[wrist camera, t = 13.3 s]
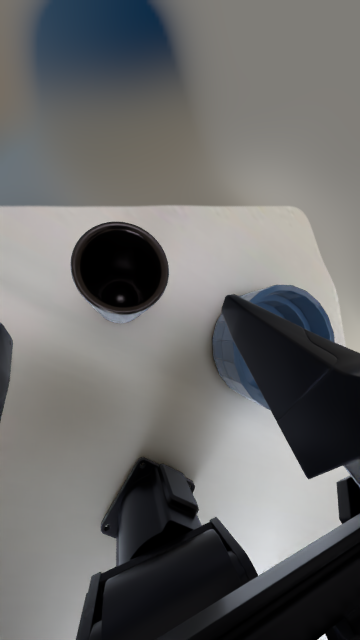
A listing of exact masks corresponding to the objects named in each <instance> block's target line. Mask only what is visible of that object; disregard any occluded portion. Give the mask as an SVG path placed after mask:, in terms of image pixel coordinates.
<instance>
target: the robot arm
mask: <svg viewBox="0 0 360 640" xmlns="http://www.w3.org/2000/svg"><path fill="white" fill-rule="evenodd" d="M222 314H223V317H224V319H225V322H226V324H227V326H228V329H229V331H230V334H231V336H232V339H233V341H234V343H235V344H236V346H237V348H238V350H239V352H240V354H241V356H242V357H243V359H244V361H245V363H246V365H247V367H248V369H249V371H250V372H251V374H252V376H253V378H254V380H255V382H256V384H257V385H258V387H259V389H260V391H261V393H262V395H263V397H264V399H265V400H266V402H267V404H268V406H269V408H270V410H271V412H272V414H273V415H274V417H275V419H276V421H277V423H278V425H279V427H280V429H281V431H282V432H283V434H284V436H285V438H286V440H287V442H288V444H289V445H290V447H291V449H292V451H293V453H294V455H295V457H296V459H297V460H298V462H299V464H300V466H301V468H302V470H303V472H304V473H305V475H306V477H307V478H308V479H311V478H313V477H316V476H318V475H321V474H323V473H325V472H328V471H330V470H333V469H335V468H338V467H340V466H342V465H343V466H344V467H345V468H346V470H347V471H348V472H349V474H350V476H348V477H346V478H344V479H342V480H340V481H338V482H337V494H338V508H339V519H340V521H341V522H342V525H340V526H339V527H337V528H335V529H334V530H332V531H331V532H329V533H327V534H326V535H324V536H322V537H321V538H319V539H318V540H316V541H314V542H313V543H311V544H309V545H308V546H306V547H305V548H303V549H301V550H300V551H298V552H297V553H295V554H293V555H292V556H290V557H288V558H287V559H285V560H284V561H282V562H280V563H279V564H277V565H275V566H274V567H272V568H271V569H269V570H267V571H266V572H264V573H262V574H261V575H259V576H258V574H257V572H256V570H255V568H254V566H253V564H252V563H251V561H250V559H249V557H248V556H247V554H246V553H245V551H244V550H243V549H242V547H241V546H240V545H239V544H238V543H237V541H236V540H235V539H234V538H233V536H232V535H231V534H230V533H229V532H228V530H227V529H226V528H225V527H224V525H223V524H222V523H221V522H220V521H219V519H218V518H217V517H215V518H213V519H211V520H210V522H209V523H207V524H204V525H201V523H200V521H199V518H198V516H197V512H198V510H199V509H198V505H197V502H196V500H195V498H194V496H193V494H192V493H193V491H194V489H195V485H194V483H193V481H191V480H190V479H188V478H185V477H184V474H183V473H181V472H179V471H177V470H175V469H173V468H171V467H169V466H167V465H165V464H160V465H159V464H157V463H155V462H153V461H151V460H149V459H147V458H144V457H142V458H140V459H138V461H137V462H136V464H135V466H134V468H133V469H132V471H131V473H130V475H129V476H128V478H127V480H126V481H125V483H124V485H123V487H122V488H121V490H120V492H119V493H118V495H117V497H116V499H115V500H114V502H113V504H112V506H111V507H110V509H109V511H108V512H107V514H106V516H105V518H104V519H103V521H102V523H101V532H102V533H103V534H106V535H108V536H111V537H114V538H116V567H115V568H113V569H110V570H108V571H106V572H104V573H102V574H101V572H99V573H97V574H95V575H93V576H92V577H91V581H90V586H89V590H88V593H87V594H86V598H85V602H84V606H83V611H82V615H81V620H80V624H79V629H78V633H77V637H76V640H317V639H319V638H320V637H321V636H322V635H324V634H326V636H327V638H328V640H360V353H358V352H355V351H353V350H350V349H348V348H346V347H344V346H341V345H339V344H337V343H334V342H332V341H330V340H328V339H325V338H323V337H321V336H319V335H317V334H315V333H313V332H311V331H309V330H306V329H303V328H302V327H300V326H298V325H296V324H294V323H292V322H290V321H288V320H286V319H284V318H282V317H280V316H278V315H276V314H274V313H272V312H270V311H268V310H266V309H264V308H262V307H260V306H257V305H255V304H253V303H251V302H249V301H247V300H245V299H243V298H241V297H239V296H237V295H235V294H232V295H227V296H226V297H225V300H224V303H223V306H222ZM12 348H13V341H12V338H11V336H10V335H9V333H8V332H7V330H6V329H5V327H4V326H3V324H2V323H0V421H1V417H2V412H3V408H4V404H5V399H6V395H7V391H8V386H9V381H10V372H11V360H12ZM141 463H145V464H144V465H142V466H140V464H141ZM190 485H191V487H189V486H190ZM107 524H108V525H109V526H107V527H105V525H107Z"/></svg>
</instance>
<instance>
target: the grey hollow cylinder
mask: <svg viewBox="0 0 360 640" xmlns="http://www.w3.org/2000/svg"><path fill="white" fill-rule="evenodd" d="M71 274H72V278H73V281H74V283H75V285H76V287H77V289H78V291H79V292H80V294H81V295H82V296H83V297H84V298H85V300H86V301H87V302H88V303H89V304H90V305H91V306H92V307H93V308H94V309H95V310H96V311H97V312H98V313H99V314H101V315H102V316H103V317H104V318H105V319H107V320H109V321H111V322H115V323H125V322H129V321H131V320H133V319H135V318H136V317H138V316H139V315H140V314H142V313H143V312H145V311H146V310H147V309H149V308H150V307H151V306H153V305H154V304H155V303H156V302H157V301H158V300H159V299H160V297H161V296H162V294H163V293H164V291H165V289H166V286H167V283H168V277H169V267H168V261H167V258H166V255H165V253H164V251H163V249H162V247H161V245H160V244H159V243H158V241H157V240H156V239H155V238H154V237H153V236H152V235H151V234H149V233H148V232H147V231H145V230H144V229H142V228H140V227H138V226H136V225H133V224H129V223H125V222H107V223H103V224H100V225H97V226H95V227H93V228H91V229H90V230H88V231H87V232H86V233H85V234H84V235H82V237H81V238H80V239H79V240H78V242H77V243H76V245H75V247H74V250H73V253H72V257H71Z"/></svg>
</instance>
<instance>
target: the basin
mask: <svg viewBox="0 0 360 640" xmlns="http://www.w3.org/2000/svg"><path fill="white" fill-rule="evenodd" d="M239 297H241V298H243V299H245V300H247V301H249V302H251V303H253V304H255V305H257V306H260V307H262V308H264V309H266V310H268V311H270V312H272V313H274V314H276V315H278V316H280V317H282V318H284V319H286V320H288V321H290V322H292V323H294V324H296V325H298V326H300V327H302V328H303V329H306V330H309V331H311V332H313V333H315V334H317V335H319V336H321V337H323V338H325V339H328V340H330V341H332V342H334V333H333V330H332V326H331V323H330V320H329V317H328V315H327V314H326V312H325V311H324V309H323V307H322V306H321V304H320V303H319V302H318V301H317V300H316V299H315V298H314V297H313V296H312V295H310V294H309V293H308V292H307V291H305V290H303V289H300V288H298V287H295V286H293V285H274V286H270V287H267V288H263V289H260V290H257V291H253V292H250V293H247V294H245V295H242V296H239ZM212 341H213V357H214V361H215V363H216V366H217V369H218V372H219V374H220V376H221V377H222V379H223V380H224V381H225V382H226V384H227V385H228V386H229V387H230V388H231V389H232V390H234V391H236V392H237V393H239V394H240V395H242V396H243V397H245V398H247V399H249V400H251V401H253V402H255V403H257V404H259V405H261V406H263V407H265V408H267V409H269V410H270V408H269V406H268V404H267V402H266V400H265V399H264V397H263V395H262V393H261V391H260V389H259V387H258V385H257V384H256V382H255V380H254V378H253V376H252V374H251V372H250V371H249V369H248V367H247V365H246V363H245V361H244V359H243V357H242V356H241V354H240V352H239V350H238V348H237V346H236V344H235V343H234V341H233V339H232V336H231V334H230V331H229V329H228V326H227V324H226V322H225V319H224V317H223V314H221V315H220V317H219V319H218V320H217V323H216V326H215V330H214V334H213V339H212ZM334 343H335V342H334Z"/></svg>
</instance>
